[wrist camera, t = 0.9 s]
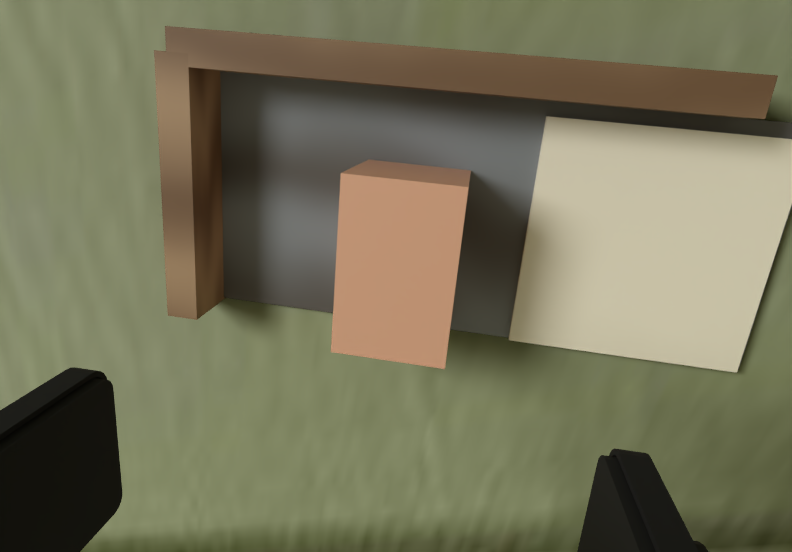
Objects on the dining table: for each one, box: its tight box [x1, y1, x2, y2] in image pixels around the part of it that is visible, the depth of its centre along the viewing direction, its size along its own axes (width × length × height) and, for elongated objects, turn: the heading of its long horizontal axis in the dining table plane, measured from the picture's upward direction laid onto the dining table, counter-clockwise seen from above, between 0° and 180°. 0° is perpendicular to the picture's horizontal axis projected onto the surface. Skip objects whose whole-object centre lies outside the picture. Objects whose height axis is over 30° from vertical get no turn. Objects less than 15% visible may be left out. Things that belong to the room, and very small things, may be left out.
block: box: [331, 160, 471, 369], centre depth 22 cm, size 7×4×5 cm, turn 175°
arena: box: [154, 26, 792, 370], centre depth 22 cm, size 12×26×3 cm, turn 85°
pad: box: [509, 116, 792, 373], centre depth 23 cm, size 10×10×1 cm
